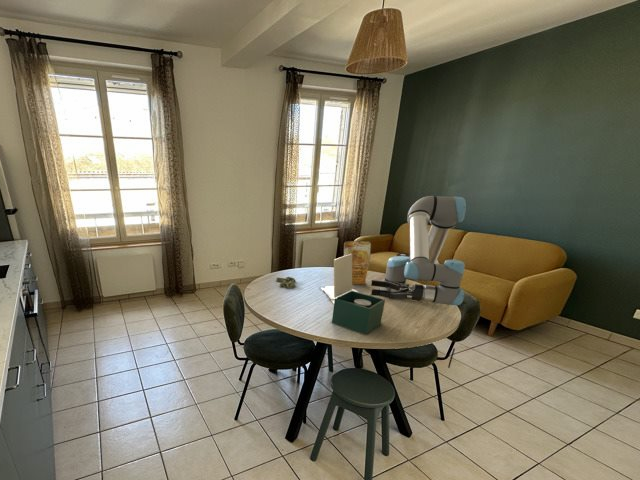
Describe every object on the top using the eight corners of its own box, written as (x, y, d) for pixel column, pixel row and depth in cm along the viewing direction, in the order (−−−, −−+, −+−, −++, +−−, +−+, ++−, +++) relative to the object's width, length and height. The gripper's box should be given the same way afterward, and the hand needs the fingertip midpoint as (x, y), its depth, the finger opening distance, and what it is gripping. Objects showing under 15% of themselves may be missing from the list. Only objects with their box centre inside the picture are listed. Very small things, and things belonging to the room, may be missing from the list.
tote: (380, 323, 162) (385, 299, 157) (365, 334, 151) (370, 309, 146) (347, 313, 173) (351, 290, 169) (331, 322, 162) (334, 298, 158)
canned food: (366, 327, 156) (369, 306, 152) (349, 323, 160) (352, 302, 156) (369, 321, 162) (373, 301, 158) (353, 317, 166) (356, 297, 162)
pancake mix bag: (337, 281, 223) (342, 240, 212) (364, 281, 224) (371, 240, 213) (340, 284, 216) (346, 242, 206) (368, 284, 217) (375, 242, 207)
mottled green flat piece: (275, 279, 225) (276, 276, 225) (293, 279, 226) (293, 276, 225) (280, 288, 209) (280, 285, 208) (298, 288, 209) (298, 285, 208)
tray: (350, 287, 212) (351, 281, 210) (369, 305, 186) (370, 299, 185) (319, 287, 211) (320, 282, 209) (333, 306, 185) (334, 300, 183)
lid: (352, 253, 163) (350, 253, 164) (335, 259, 152) (333, 259, 153) (352, 289, 168) (350, 289, 169) (335, 297, 157) (334, 297, 158)
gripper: (424, 311, 137) (370, 304, 144) (416, 291, 159) (370, 286, 165) (428, 294, 134) (373, 287, 141) (420, 277, 156) (372, 272, 163)
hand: (371, 287), depth 153 cm, fingers open, 13 cm apart
